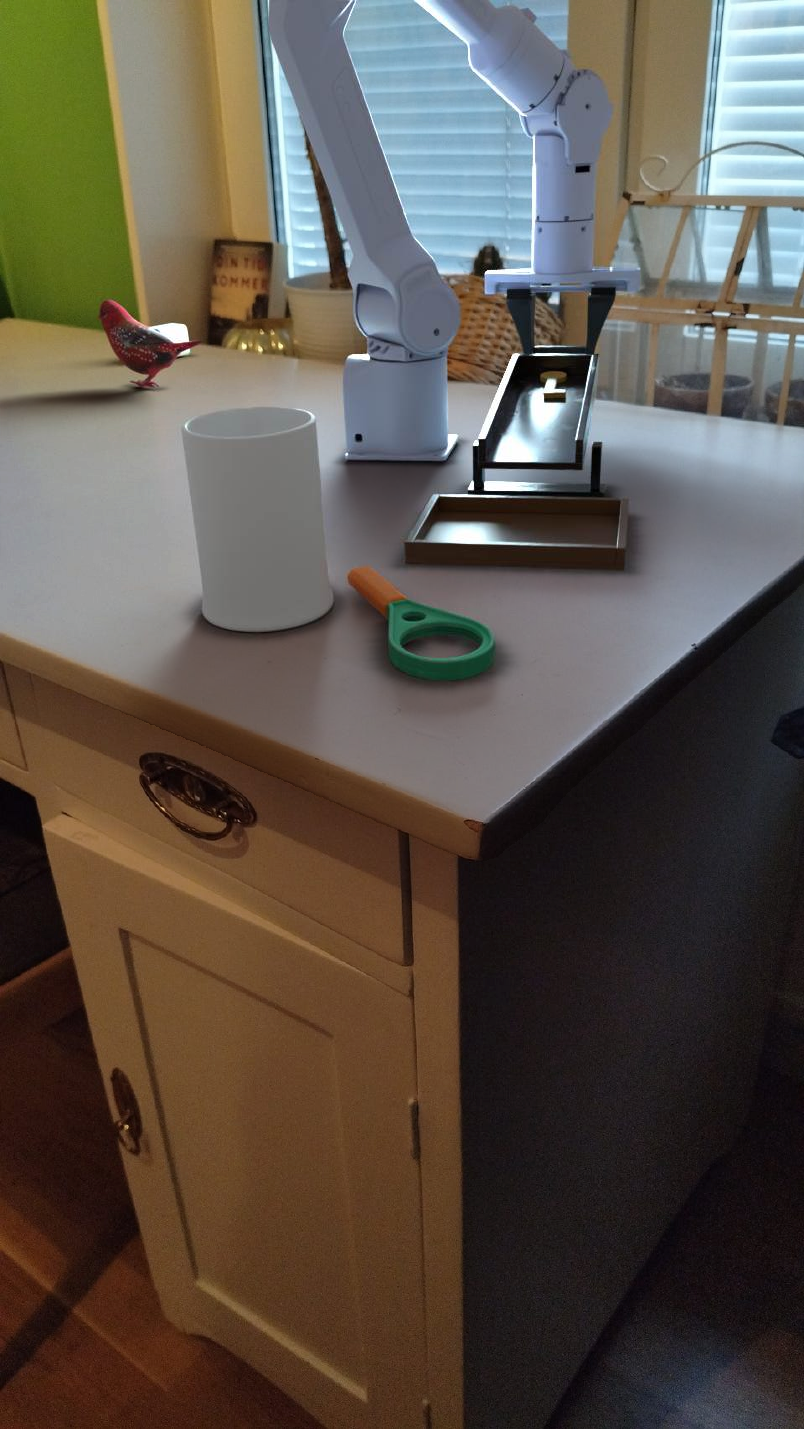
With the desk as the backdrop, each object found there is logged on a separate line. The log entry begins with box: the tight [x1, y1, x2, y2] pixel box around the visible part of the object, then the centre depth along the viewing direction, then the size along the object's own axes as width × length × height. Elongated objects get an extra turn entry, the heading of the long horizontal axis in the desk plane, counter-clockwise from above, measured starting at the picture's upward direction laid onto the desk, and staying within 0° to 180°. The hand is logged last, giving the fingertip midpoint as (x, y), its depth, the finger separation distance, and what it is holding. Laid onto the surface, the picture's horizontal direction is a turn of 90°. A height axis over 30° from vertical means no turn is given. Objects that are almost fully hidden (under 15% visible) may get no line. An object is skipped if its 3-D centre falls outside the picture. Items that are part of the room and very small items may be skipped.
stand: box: [467, 440, 607, 498], centre depth 90 cm, size 11×2×4 cm, turn 79°
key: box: [540, 371, 567, 398], centre depth 100 cm, size 3×7×1 cm, turn 169°
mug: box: [181, 406, 335, 633], centre depth 70 cm, size 12×8×12 cm
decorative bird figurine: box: [97, 299, 203, 388], centre depth 132 cm, size 3×18×10 cm, turn 54°
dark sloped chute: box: [477, 345, 600, 471], centre depth 96 cm, size 8×30×2 cm, turn 168°
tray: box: [404, 493, 630, 571], centre depth 81 cm, size 15×11×2 cm
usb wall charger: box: [149, 322, 191, 358], centre depth 151 cm, size 4×7×4 cm, turn 136°
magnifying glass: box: [347, 565, 496, 682], centre depth 67 cm, size 15×6×2 cm, turn 25°
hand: (559, 370), depth 108 cm, fingers closed on dark sloped chute, 5 cm apart
